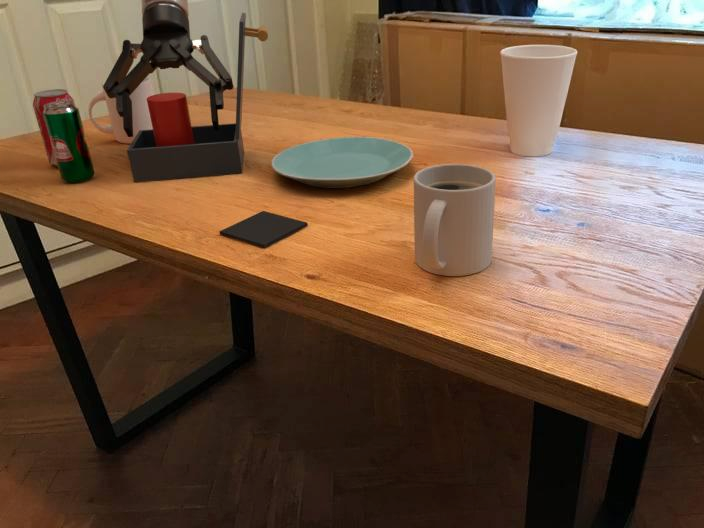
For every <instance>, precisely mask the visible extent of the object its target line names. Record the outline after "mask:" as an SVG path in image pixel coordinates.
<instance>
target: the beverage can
mask: <svg viewBox="0 0 704 528" xmlns="http://www.w3.org/2000/svg"><path fill="white" fill-rule="evenodd" d="M33 96H34V98H33V101H32V108H33V111H34V115H35V118H36V122H37V125H38V128H39V132H40V136H41V139H42V142H43V146H44V150H45V153H46V156H47V159H48V162H49V164H51V165H55V166H56V167H58V165H57V161H56V158H55V154H54V151H53V147H52V144H51V140H50V137H49V133H48V130H47V126H46V123H45V119H44V116H43V111H44V105H45V104H47V103H51V102H56V101H73V102H74V105H75V106H76V104H75V100H74V98H73V97H72V95H70V94H69V92H68V90H67V89H63V88H54V89H45V90H40V91H37V92H35V93H34V94H33Z"/></svg>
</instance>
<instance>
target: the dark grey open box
mask: <svg viewBox="0 0 704 528" xmlns="http://www.w3.org/2000/svg"><path fill="white" fill-rule="evenodd" d="M191 126H192V125H191ZM192 132H193V138H194V143H195V144H189V145H176V146H163V147H156V142H155V137H154V132H153V129H152V130H140V131H139V132H138V134H137V135H136V137H135V138H134V140H133V141H132V143H131V144H129V146H128V148H126V153H127V158H128V161H129V167H130V170H131V174H132V179H133V183H142V182H155V181H156V182H157V181H166V180H167V181H168V180H169V181H170V180H178V179H179V180H180V179H191V178H203V177H214V176H215V177H216V176H228V175H238V174H239V175H240V174H243V167H244V159H245V148H244V141H243V133H242V129H241V130H240V137H239V139H235V133H236V122H235V123H220V124H219V130H214V127H213V124H206V125H193V126H192Z"/></svg>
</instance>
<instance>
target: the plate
mask: <svg viewBox="0 0 704 528" xmlns="http://www.w3.org/2000/svg"><path fill="white" fill-rule="evenodd" d="M413 158H414V152H413V150H412V149H411V148H410V147H409V146H408V145H406V144H404V143H401V142H398V141H396V140H391V139H388V138H381V137H373V136H341V137H340V136H339V137H332V138H324V139H318V140H312V141H308V142H304V143H300V144H296V145H293V146H290V147H288V148H286V149H283V150H282V151H279V152H278V153H277V154H276V155H274V157H272V160H271V162H270V165H271V168H272V170H274V172H276V173H277V174H278V175H281V176H283V177H286V178H288V179H292V180H294V181H298V182H300V183H302V184H305V185H307V186H313V187H318V188H325V189H326V188H327V189H328V188H329V189H339V188H340V189H342V188H343V189H344V188H353V187H354V188H355V187H361V186H365V185H370V184H372V183H375V182H377V181H378V182H379V181H381V180H382V179H384V178H385V177H387V176H389V175H391V174H393V173H395V172H397V171H399V170H401V169H403V168H404V167H406V166H408V164H409V163H410V162H411V161H412V160H413Z"/></svg>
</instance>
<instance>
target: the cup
mask: <svg viewBox="0 0 704 528" xmlns="http://www.w3.org/2000/svg"><path fill="white" fill-rule="evenodd" d="M499 54H500V61H501V71H502V83H503V94H504V106H505V107H504V108H505V119H506V131H507V136H508V137H509V146H510V152H511V153H512V154H515V155H517V156H522V157H529V158H530V157H531V158H533V157H543V156H547V155H550V154H552V153H553V150H554V144H555V141H556V138H557V137H558V136H559V131H560V127H561V122H562V119H563V114H564V110H565V105H566V101H567V97H568V92H569V88H570V84H571V80H572V76H573V72H574V71H573V70H574V67H575V63H576V59H577V55H578V50H577V49H576V48H573V47H571V46H565V45H558V44H524V45H522V44H521V45H515V46H509V47H505V48H503V49H501V50H500V52H499Z"/></svg>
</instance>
